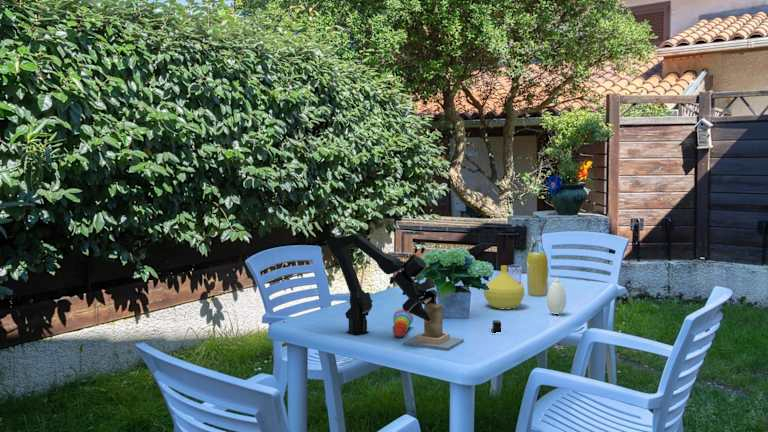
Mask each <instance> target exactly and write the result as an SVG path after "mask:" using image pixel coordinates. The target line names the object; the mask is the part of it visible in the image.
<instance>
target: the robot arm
mask: <svg viewBox="0 0 768 432" xmlns="http://www.w3.org/2000/svg"><path fill="white" fill-rule="evenodd" d="M351 245H354V246H355V247H356V248H358V250H360V251H362V252H363V253H364V254H366V255H367V256H368V257H369V258H371V259H372V260H374V261H375V263H376V265H377V266H378V268H379V269H380V270H381V271H382V272H383V273H384V274H386V275H392V274H394V275H392V276H390V277H389V285H393V284H396V285H397V286H398V287H399V288H400V290H401V291H402V293H401V295H403V296H406V297H407V298H408V299H407V300H406V301H405V302H403V303H402V308H403V310H404V311H405V312H408V311H409V310H410V311H409V312H408V313H411V314H412V315H413V316H416V317H418V318H421V319H422V320H426V321H430V318H429V316H428V315H427V313H426V312H425V310H424V306H425V305H427V304H430V303H432V304H438V302H437V297H438V292H437V290H435V289H434V288H436V285H435V284H436V280H434V278H432V277H428V278H426V279H425V281H424V282H421V283H420V282H419V281H415V280H414V279H413V278H417V277H418V276H419V275H420V274H421V273H422V272H423V271H424V270H425V269H426V268H427V263H426V261H425V260H424V259H422V258H421V257H419V256H417V255H416V254H415V253H414V254H413V253H412V254H411V255H409V258H408V259H406V261H403V260H401V259H400V258H398V257H397V256H395V255H392V254H390V253H387V252H384V251H383V250H382V249H380V248H379V246H378V247H377V246H376V245H375V244H373V243H372V242H371V241H369V240H368V239H367V238H366V237H365V236H363V235H362V234H361V233H360V232H356V233H352V234H349V235H343V234H338V235H334V236H330V237H329V239H328V240H327V247H328V249H329V251H330V253H331V254H332V255H333V256H334V258H335V259H337V261H338V265H339V268H340V270H341V272H342V275H343V278H344V281H345V283H346V286H347V288H348V292H349V294H350V295H349V306H350V307H349V309H348V310H346V311H345V317H346V319H347V320H348V330H346V333H349V334H351V335H354V336H357V335H363V334H369V331H368V320H367V316H369V312H370V311H371V310H372V308H373V300H372V298H371V294H370V292H369V291H367V292H365V291H364V290H363V289H362V285H361V282H360V281H359V278H358V275H357V272H356V270H355V267H354V264H353V261H352V259H351V257H350V251H351Z"/></svg>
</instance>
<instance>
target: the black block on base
mask: <svg viewBox="0 0 768 432" xmlns="http://www.w3.org/2000/svg"><path fill="white" fill-rule="evenodd" d="M490 329H491V332H492V333H496V332H501V329H502V322H501V320H496V319H495V320H492V328H490Z"/></svg>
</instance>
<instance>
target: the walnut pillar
mask: <svg viewBox="0 0 768 432" xmlns="http://www.w3.org/2000/svg"><path fill="white" fill-rule="evenodd" d="M443 306H444V305H443V304H440V303H437V304H432V303H430V304H427V305H425V306H424V305H423V309H424V310H425V312H426V313H427V315H428V316H429V318H430V321H426V320H424V319H423V320H424V321H423V327H424V328H423V331H424V332H423V333H424V336H425V337H432V338H439V337H441V336H443V333H444V331H443V323H444V321H443V316H444V315H443Z"/></svg>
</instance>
